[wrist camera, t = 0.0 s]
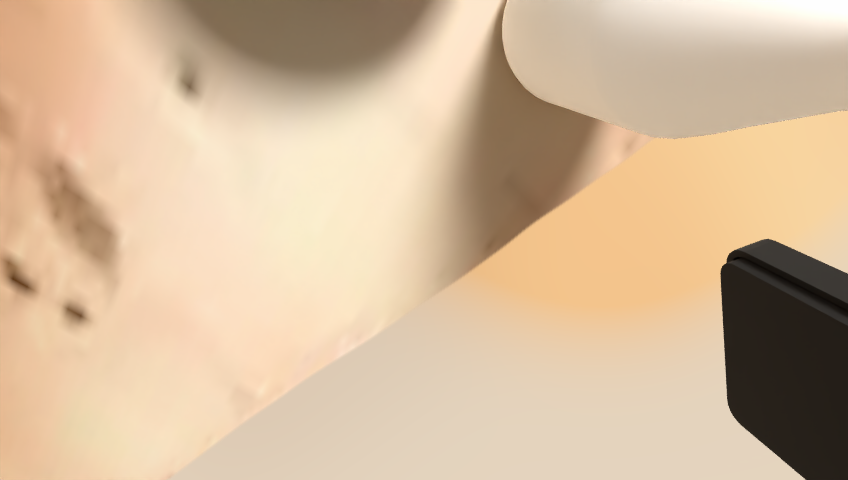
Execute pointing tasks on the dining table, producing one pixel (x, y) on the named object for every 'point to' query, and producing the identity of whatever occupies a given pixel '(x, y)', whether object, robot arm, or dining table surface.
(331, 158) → the dining table surface
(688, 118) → the wine bottle
